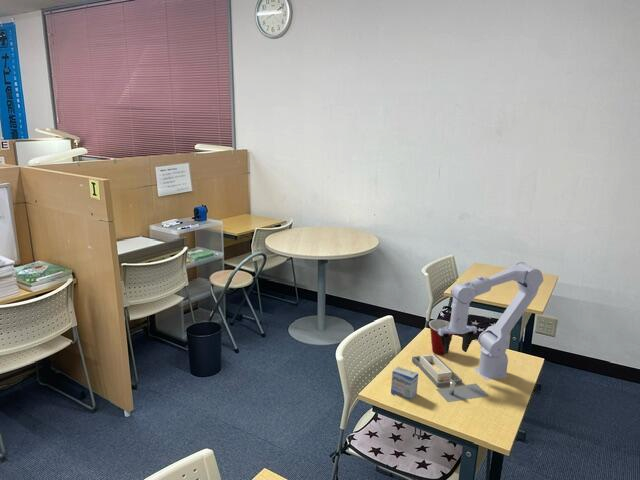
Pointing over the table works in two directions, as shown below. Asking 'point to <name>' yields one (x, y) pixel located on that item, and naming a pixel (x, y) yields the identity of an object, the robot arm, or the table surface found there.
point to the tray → (438, 384)
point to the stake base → (461, 392)
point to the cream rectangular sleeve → (425, 362)
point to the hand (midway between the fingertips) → (454, 351)
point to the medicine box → (404, 383)
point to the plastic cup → (437, 335)
